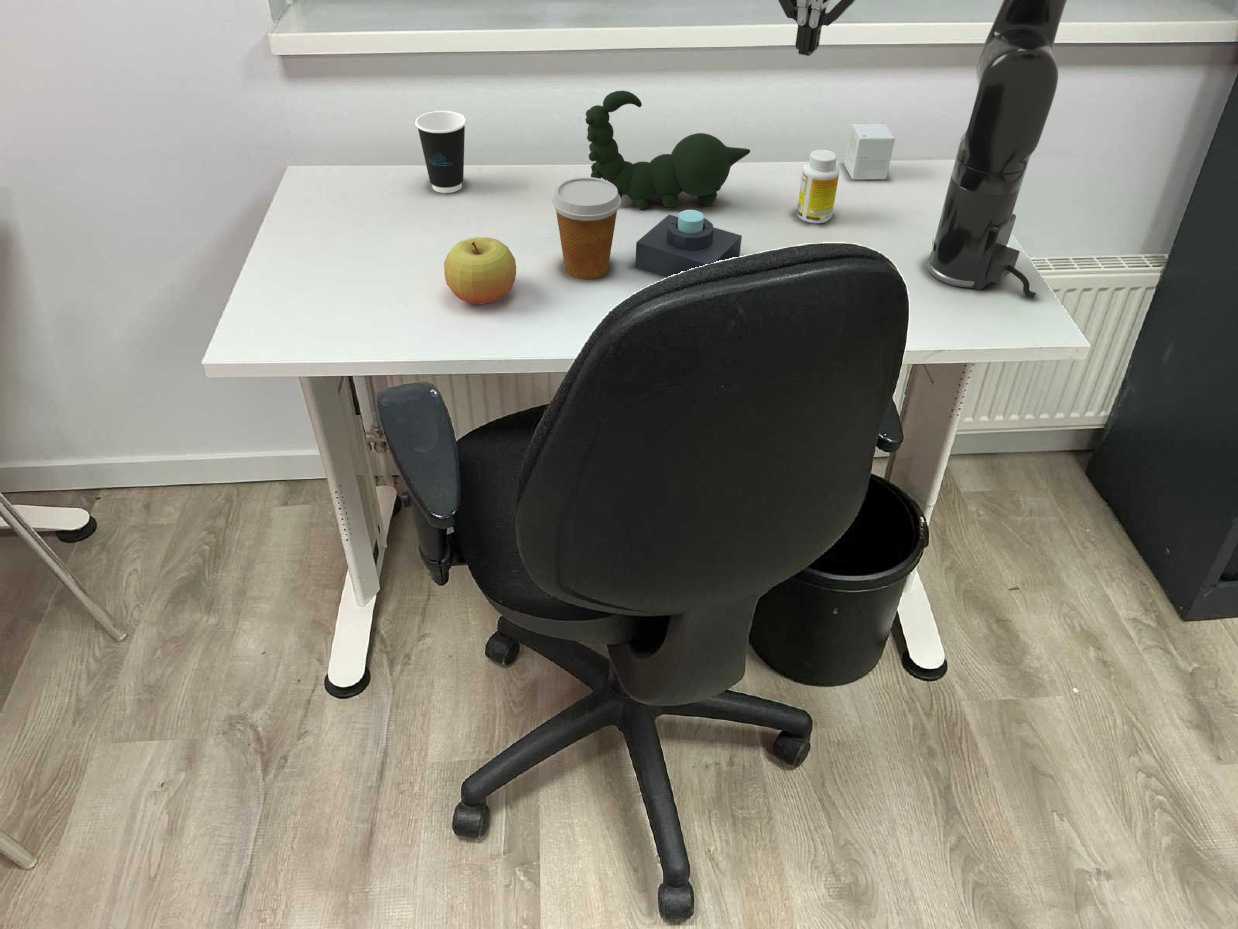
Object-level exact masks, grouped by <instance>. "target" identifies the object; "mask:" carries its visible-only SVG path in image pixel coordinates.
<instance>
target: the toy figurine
mask: <svg viewBox="0 0 1238 929" xmlns="http://www.w3.org/2000/svg"><path fill="white" fill-rule="evenodd" d="M642 103H643V102H642V101H641V99H640V98H639V97H638V96H637V95H635V94H634V93H632V92H631V91H628V90H615V91H613V92H610V93H608V94H607V95H606V96H605V97H604V99H603V101H602V105H600V104H597V105H596V104H595V105H593V106H592V107H590V108H589V109H587V110H586V112H585V123H586V125H587V130H586V131H587V135H586V139H587V141H588V142H590V144H589V145H588V148H589V151H590V153H589V154H588V159H589V161H591V162H593V163H592V164H591V166H590V169H591V173H590V177H593V178H599V179H603V180H606V181H609V182H610V183H612V184H613V185H615V186H616V188H617V190H618V194H619V195H620V198H621V200H622V199H623V196H628V197H629V198H630V199H632V200H634V201H635V206H636V208H638V209H640V210H646V209H647V207H648V206H649V201H652V200H654V199H656V198H658V199H661V204H662V205H663V206H664V207H665V208H668V209H669V208H670V209H672V208H673V207H675V206H677V204H678V198H679V196H680V195H681V194H682V193H684V194H686V195H689V196H693V197H697V200H698V202H699V203H701V204H702V205H703V206H711V205H713V204H714V203H715V202H716V201H717V197H718V192H719V191H721V189H722V187H723V185H724V184H725V182H726V181H727V179H728V178H729V174H730V171H731V167H732V166H734V164H736V163H738V162H739V161H740V160H742V159H744V158H745V157H746V156H748V155H749V154H750V153H751V149H749V148H746V147H745V148H744V147H733V146H727V145H725V144H724V143H723V142H722V141H721V140H720V139H719V138H717V136H714V135H712V134H709V133H705V132H697V133H692V134H690V135H687V136H685V137H683V138H682V139H680V141H678V143H677V144H676V145H675V146H674V148H673V150H672V151H671V153H662V154H659V155H657V156H655V157H654V158H652V160H650V162H649V161H644V160H643V161H637V162H633V163H632V162H631V161H628V160H625V159H624V156H623V155H622V154H621V153H620V152H619V145H618V143H617V141H616V140H615V138H614V133H615V131H614V128H613V125H612V124H611V123H610V113H613V112H615V111H617V110H619V109H621V107H623V106H626V105H634V106H636V107H638V108H641V107H642V106H643V104H642Z"/></svg>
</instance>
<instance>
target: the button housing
mask: <svg viewBox="0 0 1238 929" xmlns="http://www.w3.org/2000/svg"><path fill="white" fill-rule="evenodd" d="M742 240H743V235H742V234H738V233H734V232H731V231H728V230H725V229H721V228H718V227H714V223H712V222H711V221H710V220H708V219H707V218H705V217H704V222H703V230H702V232H699V233H685V232H681V231H679V230H678V216H676V215H673V214H670V213H669V214H668V215H667V216H665V217H664V218H663V219H662V220H660V221H659V222H658V223H657V224H656V225H655V226H653V228H650V230H649V231H648V232H646V233H645V234H644V235H643V236H642V237H641V238H639V240H638V239H637V241H636V242H635V265H634V266H635V267H636V268H638V269H642V270H646V271H648V272H650V273H654V274H658V275H661V276H664V277H667V278H669V277H668V276H671V275H673V274H678V273H680V272H681V271H687V270H689V269H691V268H695V267H699V266H703V265H705V264H711V263H714V262H716V261H719V260H725V259H729V258H732V257H739V256H740V257H741V248H742ZM740 257H739V258H740Z"/></svg>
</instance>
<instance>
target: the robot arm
mask: <svg viewBox="0 0 1238 929" xmlns="http://www.w3.org/2000/svg"><path fill="white" fill-rule="evenodd" d="M856 1H857V0H840V1H839V2H837V3H836V5H834V6H833V7H832V9H831V10H829V12H827V11H828V6H829V4H830V2H831V0H778V2H779V5H780V6H781V9H782V10H783V13H784V15H785V17H786V18H787V19H792V20H793V21H795V22H796V23H797V29H796V30H797V31H796V36H795V37H796V38H795V43H794V44H795V49H796V50H798V51H797V53H798V55H801V56H806V57H810V56H811V55H812V54H814V52H815V51H817V50H818V48H819V47H820V42H821V35H822V34H821V33H822V27H823V26H826V27H829V26H830V25H832V24H833V23H834V22H836V21H837V20H838V19H839V18H840V17H841V16H842V15H843V14H844V13H845V12H846V11H847V10H848V9H849V8H850V7H851V6H852V5H853V4H854V3H855V2H856ZM1067 2H1068V0H1003V1H1002V2H1001V5H1000V8H999V10H998V11H997V14H996V17H995V19H994V21H993V24H992V26H991V28H990V29H989V32H988V35H987V36H986V39H985V41H984V43H983V45H982V47H981V50H980V52H979V55H978V59H977V62H976V70H975V71H976V73H975V74H976V75H975V76H976V80H977V85H978V87H977V92H976V96H975V100H974V103H973V107H972V110H971V115H970V118H969V122H968V124H967V128H966V131H965V132H963V134H962V135H961V138H960V141H959V144H958V149H957V153H956V156H955V160H954V164H953V168H952V172H951V175H950V180H949V183H948V187H947V189H946V190H947V191H946V195H945V198H944V203H943V207H942V209H941V214H940V218H939V220H938V221H939V222H938V226H937V231H936V234H935V236H934V237H933V238H932V242H931V252H930V255H929V257H928V261H927V269H928V272H929V273H930V274H931V275H932V276H933V278H935V279H937V280H938V281H940V282H942V283H945V284H947V285H951V286H955V287H959V288H972V289H976V290H978V291H982V290H983V289H984V288H985V287H986V286H988V284H990V283H991V282H992V283H995V284H997V285H999V284H1001V282H1003V281H1004V280H1005V279H1006V278H1007V277H1008V276H1009V275H1010V274H1012V275H1013V276H1015V277H1016V278H1017V279H1018V280H1019V281H1021V284H1022V291H1023V294H1024V295H1025V296H1026V297H1027V298H1031V299H1034V298H1035V297H1036V295H1037V292H1036V291H1031V290H1030V287H1031V286H1030V281H1029V279H1028V278H1027V276H1026V275H1025V274H1024V273H1023V272H1021V271H1020V270H1018V269H1017V268H1016V264H1017V261H1018V258H1019V255H1020V253H1021V251H1020V250H1018V249H1015V248H1013V247H1010V246H1009V241H1010V238H1011V235H1012V232H1013V229H1014V225H1015V222H1016V219H1017V215H1016V214H1015V213H1014V210H1015V206H1016V204H1017V201H1018V196H1019V194H1020V191H1021V187H1022V184H1023V181H1024V179H1025V176H1026V175H1025V174H1026V171H1027V169H1028V165H1029V162H1030V159H1031V157H1032V155H1033V153H1034V152H1035V151H1036V149H1037V147H1038V146H1039V142H1040V140H1041V137H1042V134H1043V131H1044V130H1045V129H1044V128H1045V125H1046V123H1047V120H1048V117H1049V114H1050V111H1051V108H1052V106H1053V102H1054V99H1055V96H1056V92H1057V87H1058V84H1059V68H1058V64H1057V61H1056V58H1055V56H1054V52H1053V51H1054V46H1055V40H1056V36H1057V33H1058V30H1059V26H1060V22H1061V20H1062V16H1063V13H1064V10H1065V7H1066V4H1067Z"/></svg>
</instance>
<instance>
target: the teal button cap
mask: <svg viewBox="0 0 1238 929" xmlns="http://www.w3.org/2000/svg"><path fill="white" fill-rule="evenodd" d="M677 217H678V230H679V231H681V232H685V233H699V232H702V230H703V222H704V218H705V215H704V213H703V212H701V211H699V210H697V209H685V210H682V211H680V212H678V216H677Z"/></svg>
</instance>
